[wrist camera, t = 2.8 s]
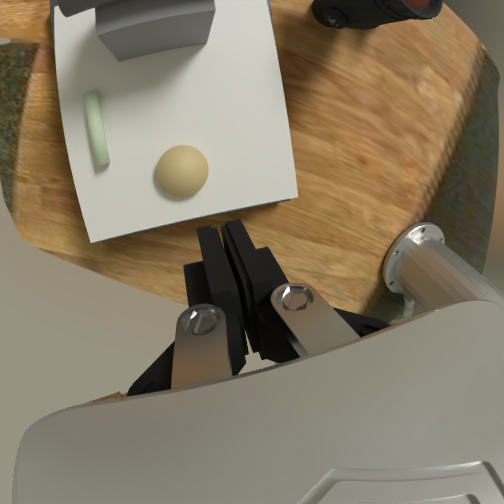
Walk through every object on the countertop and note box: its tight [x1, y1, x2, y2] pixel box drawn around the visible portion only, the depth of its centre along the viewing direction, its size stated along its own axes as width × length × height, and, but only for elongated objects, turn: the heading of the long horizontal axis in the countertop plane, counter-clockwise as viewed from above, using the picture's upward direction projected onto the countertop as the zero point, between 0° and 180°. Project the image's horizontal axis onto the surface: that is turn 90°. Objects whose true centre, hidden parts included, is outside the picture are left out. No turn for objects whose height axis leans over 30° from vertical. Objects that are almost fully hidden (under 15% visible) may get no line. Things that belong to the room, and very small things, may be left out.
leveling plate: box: [54, 0, 298, 243], centre depth 16 cm, size 22×18×12 cm
